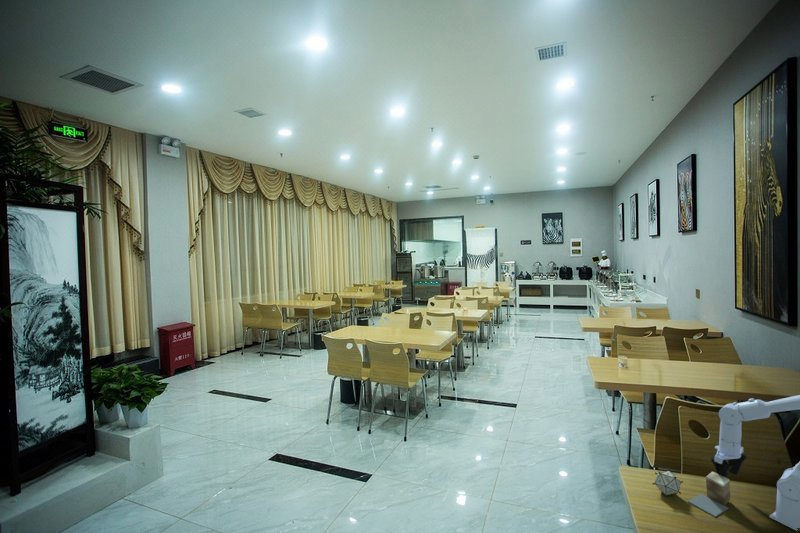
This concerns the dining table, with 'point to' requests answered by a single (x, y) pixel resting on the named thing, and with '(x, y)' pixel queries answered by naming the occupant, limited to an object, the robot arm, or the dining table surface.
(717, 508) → the mat
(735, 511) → the dining table surface
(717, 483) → the pinkish beige block
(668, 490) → the game die
